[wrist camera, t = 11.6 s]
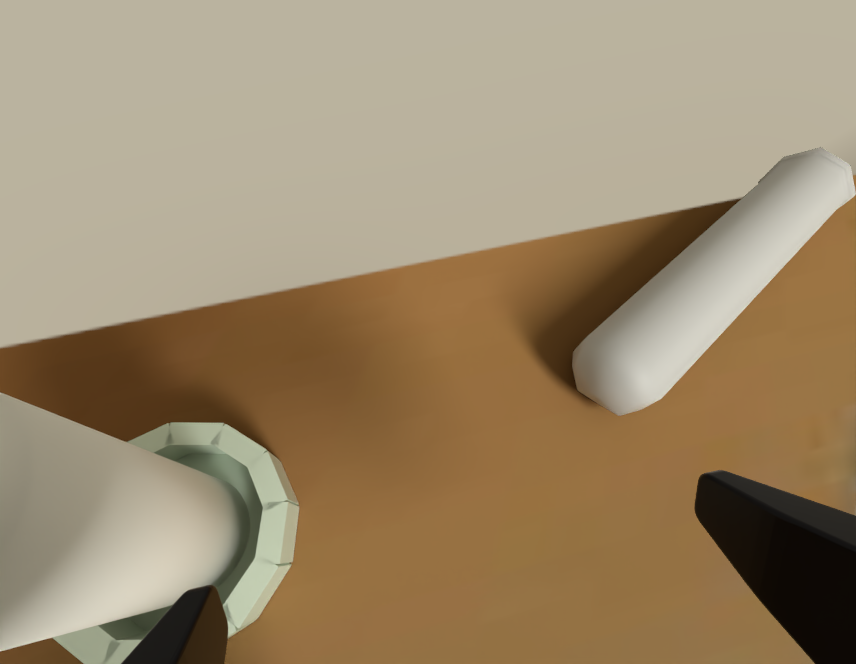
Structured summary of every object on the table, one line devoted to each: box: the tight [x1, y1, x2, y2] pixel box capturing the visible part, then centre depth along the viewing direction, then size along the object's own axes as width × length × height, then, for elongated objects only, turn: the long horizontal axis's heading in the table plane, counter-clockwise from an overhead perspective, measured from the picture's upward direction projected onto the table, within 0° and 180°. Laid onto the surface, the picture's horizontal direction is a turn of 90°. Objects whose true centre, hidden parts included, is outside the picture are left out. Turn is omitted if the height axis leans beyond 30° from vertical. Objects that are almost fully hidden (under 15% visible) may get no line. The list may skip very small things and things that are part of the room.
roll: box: [0, 392, 250, 651], centre depth 13 cm, size 5×5×13 cm
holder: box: [52, 422, 299, 664], centre depth 18 cm, size 9×9×2 cm
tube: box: [572, 147, 856, 416], centre depth 26 cm, size 5×5×25 cm
